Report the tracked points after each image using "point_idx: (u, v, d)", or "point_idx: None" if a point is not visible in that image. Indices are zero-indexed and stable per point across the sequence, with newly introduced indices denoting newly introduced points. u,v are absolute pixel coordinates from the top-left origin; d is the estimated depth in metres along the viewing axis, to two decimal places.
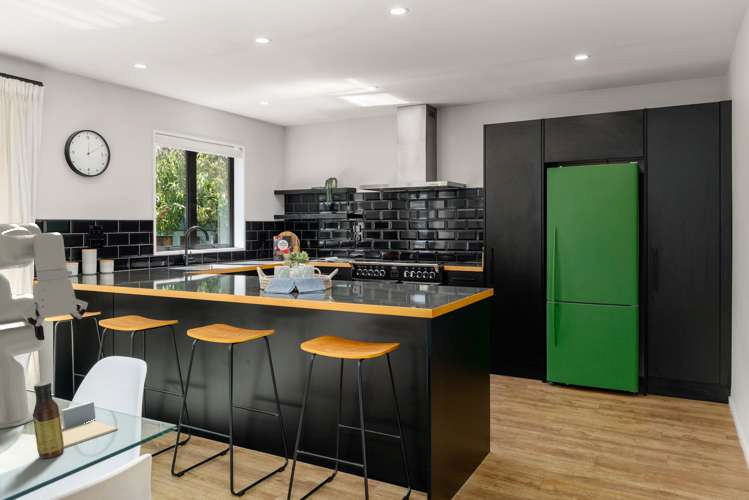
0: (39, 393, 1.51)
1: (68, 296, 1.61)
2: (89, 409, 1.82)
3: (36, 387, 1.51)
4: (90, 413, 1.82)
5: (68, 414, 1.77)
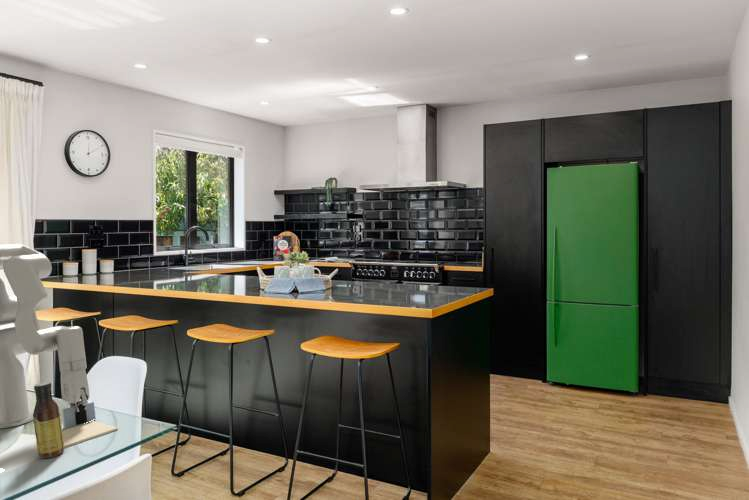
0: (39, 393, 1.51)
1: None
2: (89, 409, 1.82)
3: (36, 387, 1.51)
4: (90, 413, 1.82)
5: (68, 414, 1.77)
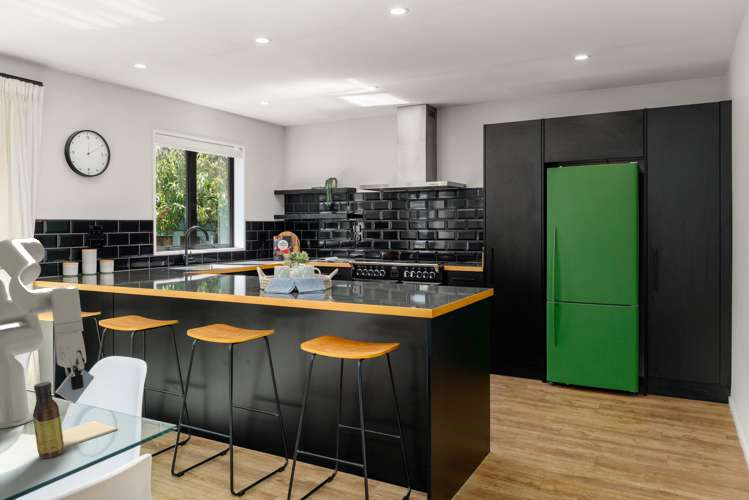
0: (39, 393, 1.51)
1: None
2: None
3: (36, 387, 1.51)
4: (84, 376, 1.72)
5: (65, 392, 1.67)
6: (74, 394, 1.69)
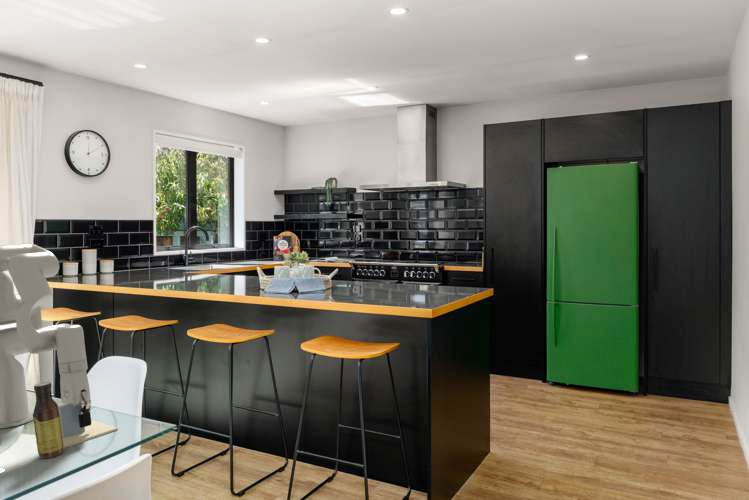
0: (39, 393, 1.51)
1: None
2: (67, 411, 1.67)
3: (36, 387, 1.51)
4: (72, 409, 1.68)
5: (69, 432, 1.67)
6: (78, 426, 1.69)
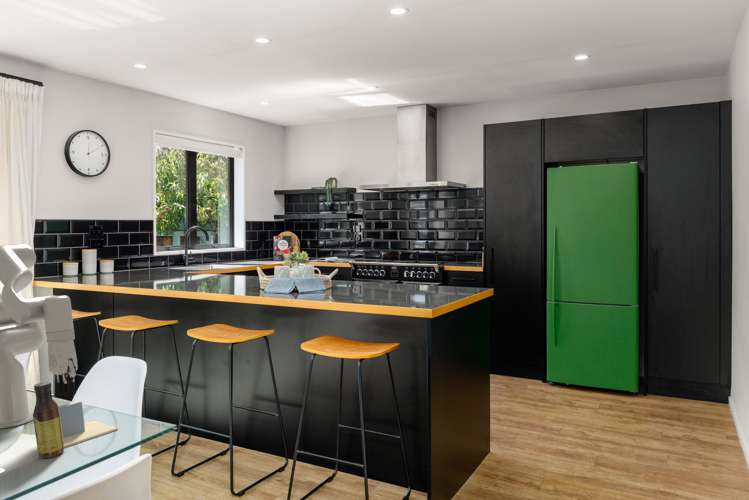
0: (39, 393, 1.51)
1: None
2: (67, 411, 1.67)
3: (36, 387, 1.51)
4: (72, 409, 1.68)
5: (69, 432, 1.67)
6: (78, 426, 1.69)
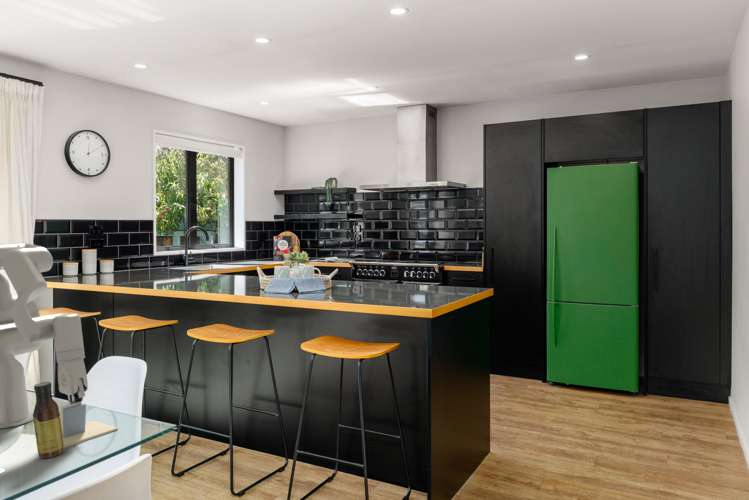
0: (39, 393, 1.51)
1: None
2: (71, 413, 1.66)
3: (36, 387, 1.51)
4: (76, 411, 1.67)
5: (69, 433, 1.67)
6: (79, 427, 1.69)
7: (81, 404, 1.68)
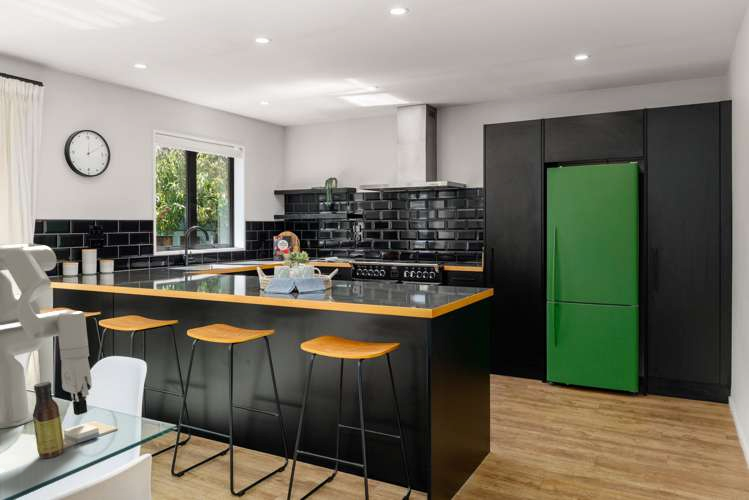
0: (39, 393, 1.51)
1: None
2: None
3: (36, 387, 1.51)
4: None
5: None
6: None
7: (95, 435, 1.64)
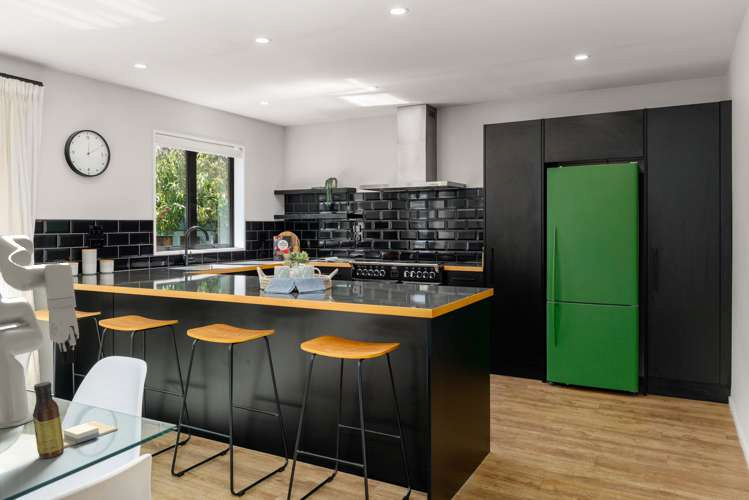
0: (39, 393, 1.51)
1: None
2: None
3: (36, 387, 1.51)
4: None
5: None
6: None
7: (95, 435, 1.64)
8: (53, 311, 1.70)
